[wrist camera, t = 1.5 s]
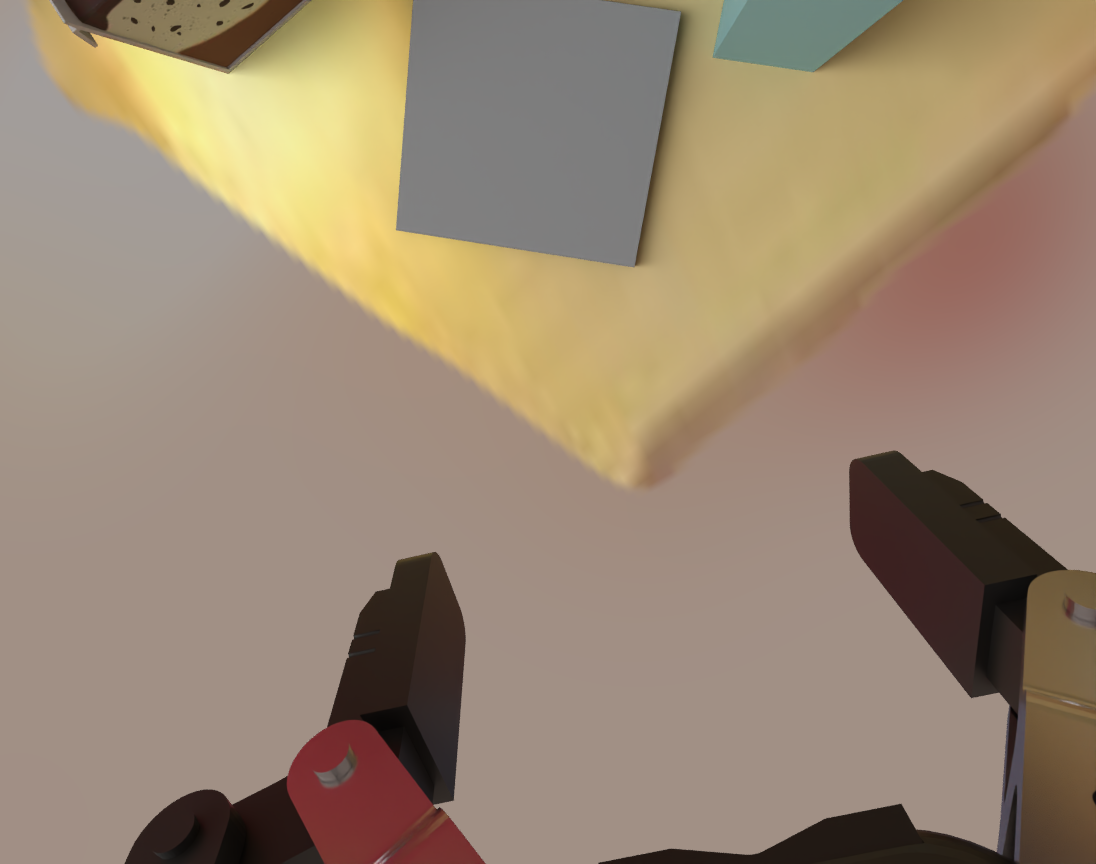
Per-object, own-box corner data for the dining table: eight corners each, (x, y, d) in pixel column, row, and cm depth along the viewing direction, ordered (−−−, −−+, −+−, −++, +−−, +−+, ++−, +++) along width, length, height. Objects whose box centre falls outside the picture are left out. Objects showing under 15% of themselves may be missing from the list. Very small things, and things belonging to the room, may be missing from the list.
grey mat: (419, -20, 32) (415, -27, 31) (678, 17, 31) (681, 11, 31) (400, 230, 35) (396, 230, 34) (633, 266, 35) (634, 267, 34)
